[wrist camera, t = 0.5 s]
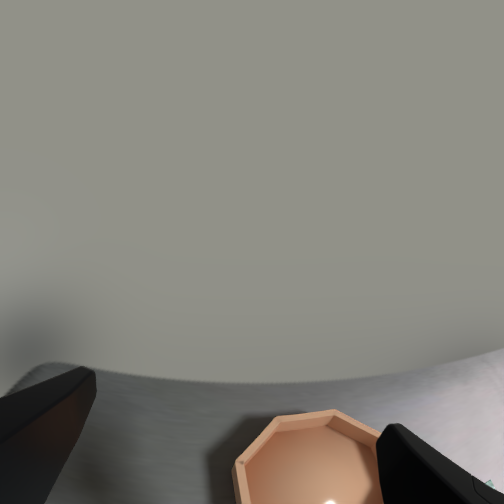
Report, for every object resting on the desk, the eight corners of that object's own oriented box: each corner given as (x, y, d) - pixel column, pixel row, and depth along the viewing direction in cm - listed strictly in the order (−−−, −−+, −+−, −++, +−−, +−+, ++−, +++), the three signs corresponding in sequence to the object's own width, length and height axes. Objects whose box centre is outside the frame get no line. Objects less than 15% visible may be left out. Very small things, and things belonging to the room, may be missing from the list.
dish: (402, 524, 13) (420, 517, 12) (248, 569, 10) (255, 571, 9) (359, 415, 24) (370, 402, 23) (225, 431, 21) (229, 418, 20)
